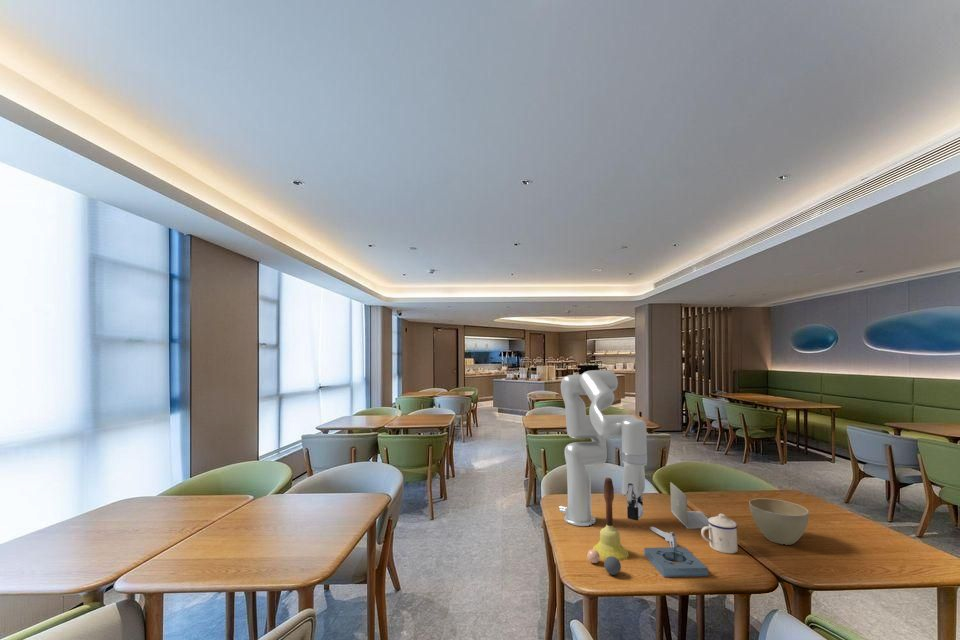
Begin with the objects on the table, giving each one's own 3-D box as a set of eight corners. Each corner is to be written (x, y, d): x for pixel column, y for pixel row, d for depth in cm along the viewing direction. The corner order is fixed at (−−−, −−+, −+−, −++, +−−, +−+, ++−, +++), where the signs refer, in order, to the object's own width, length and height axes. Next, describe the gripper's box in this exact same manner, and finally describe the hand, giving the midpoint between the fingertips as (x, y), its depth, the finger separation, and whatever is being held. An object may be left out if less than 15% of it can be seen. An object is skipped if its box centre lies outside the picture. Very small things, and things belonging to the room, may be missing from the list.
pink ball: (585, 563, 137) (585, 550, 138) (589, 558, 141) (589, 546, 141) (597, 566, 135) (597, 553, 136) (601, 561, 138) (601, 549, 139)
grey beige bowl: (802, 534, 159) (800, 502, 160) (817, 555, 143) (815, 518, 144) (747, 526, 167) (745, 495, 168) (755, 545, 150) (753, 510, 151)
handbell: (628, 563, 137) (626, 485, 139) (590, 557, 142) (588, 481, 144) (629, 547, 149) (627, 475, 151) (593, 541, 153) (592, 472, 155)
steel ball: (625, 518, 132) (624, 502, 133) (629, 513, 137) (629, 497, 137) (641, 522, 130) (641, 506, 130) (645, 516, 134) (645, 501, 134)
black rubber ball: (602, 574, 130) (601, 558, 131) (607, 568, 134) (606, 551, 135) (618, 579, 127) (618, 562, 128) (623, 572, 132) (622, 556, 132)
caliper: (677, 553, 145) (676, 534, 145) (674, 553, 145) (673, 534, 145) (652, 528, 165) (651, 512, 166) (649, 528, 165) (648, 512, 166)
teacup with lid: (728, 542, 153) (727, 509, 154) (744, 554, 144) (742, 519, 145) (695, 542, 153) (694, 509, 154) (709, 554, 144) (707, 519, 145)
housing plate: (663, 577, 129) (663, 568, 129) (644, 555, 143) (644, 547, 143) (708, 576, 129) (707, 567, 130) (684, 554, 143) (684, 547, 144)
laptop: (720, 530, 164) (718, 496, 165) (686, 529, 165) (685, 495, 166) (700, 513, 181) (699, 482, 182) (670, 512, 183) (669, 481, 184)
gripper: (629, 450, 143) (630, 505, 142) (614, 462, 129) (615, 522, 128) (652, 454, 139) (653, 510, 138) (640, 466, 125) (641, 529, 124)
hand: (635, 515), depth 133 cm, fingers closed on steel ball, 5 cm apart
